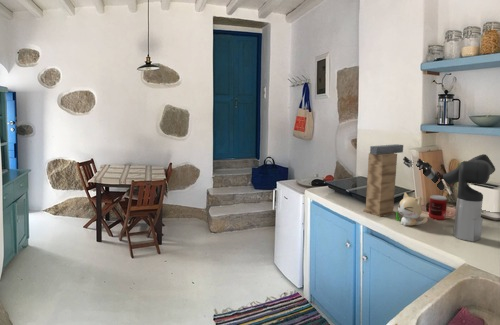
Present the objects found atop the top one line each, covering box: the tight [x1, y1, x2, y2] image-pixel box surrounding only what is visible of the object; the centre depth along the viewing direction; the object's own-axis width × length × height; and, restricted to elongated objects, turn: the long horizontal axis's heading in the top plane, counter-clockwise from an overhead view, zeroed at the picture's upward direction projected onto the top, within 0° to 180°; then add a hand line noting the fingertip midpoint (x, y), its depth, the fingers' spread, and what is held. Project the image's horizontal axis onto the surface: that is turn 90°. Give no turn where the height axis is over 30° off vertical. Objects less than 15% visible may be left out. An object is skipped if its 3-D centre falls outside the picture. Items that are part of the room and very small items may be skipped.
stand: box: [362, 152, 398, 218], centre depth 180 cm, size 11×12×32 cm
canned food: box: [428, 194, 448, 221], centre depth 173 cm, size 8×8×11 cm
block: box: [369, 144, 404, 155], centre depth 179 cm, size 4×21×4 cm, turn 120°
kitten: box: [395, 192, 429, 227], centre depth 162 cm, size 15×10×15 cm
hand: (410, 159), depth 188 cm, fingers open, 8 cm apart
